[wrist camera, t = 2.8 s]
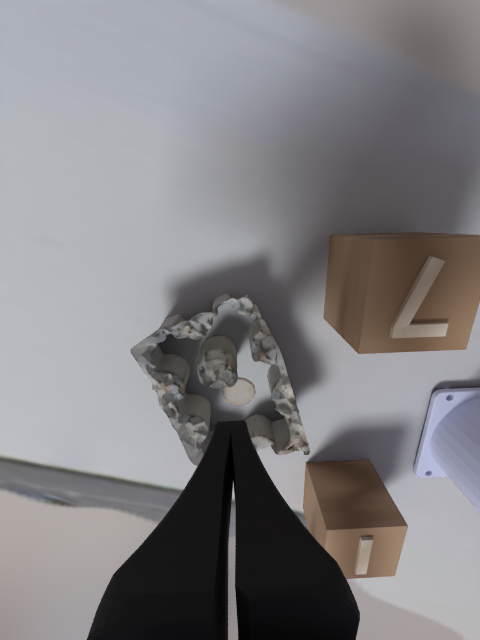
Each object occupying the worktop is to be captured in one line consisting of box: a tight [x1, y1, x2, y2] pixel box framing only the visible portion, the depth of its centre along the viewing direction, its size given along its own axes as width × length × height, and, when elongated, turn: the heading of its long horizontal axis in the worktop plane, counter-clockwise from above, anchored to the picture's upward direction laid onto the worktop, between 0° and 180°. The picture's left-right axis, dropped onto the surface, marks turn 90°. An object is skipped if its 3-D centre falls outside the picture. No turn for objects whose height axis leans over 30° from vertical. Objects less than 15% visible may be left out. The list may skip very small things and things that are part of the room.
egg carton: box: [131, 293, 310, 466], centre depth 16 cm, size 11×8×4 cm
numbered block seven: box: [324, 232, 480, 354], centre depth 14 cm, size 5×5×5 cm
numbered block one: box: [303, 460, 408, 579], centre depth 19 cm, size 5×5×5 cm
